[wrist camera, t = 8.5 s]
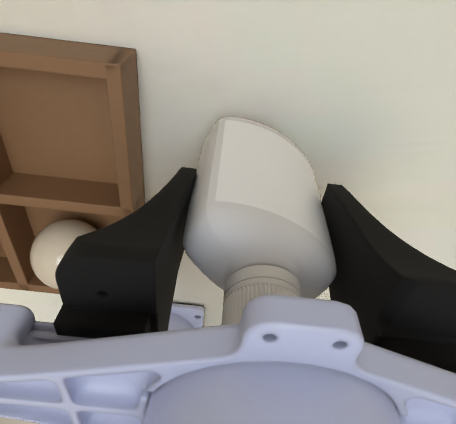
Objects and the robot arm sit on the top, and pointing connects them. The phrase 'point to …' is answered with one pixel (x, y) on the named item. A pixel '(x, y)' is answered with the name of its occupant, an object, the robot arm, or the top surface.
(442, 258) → the top surface
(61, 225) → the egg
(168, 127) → the top surface
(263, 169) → the eye dropper bottle
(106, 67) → the wooden compartment tray
